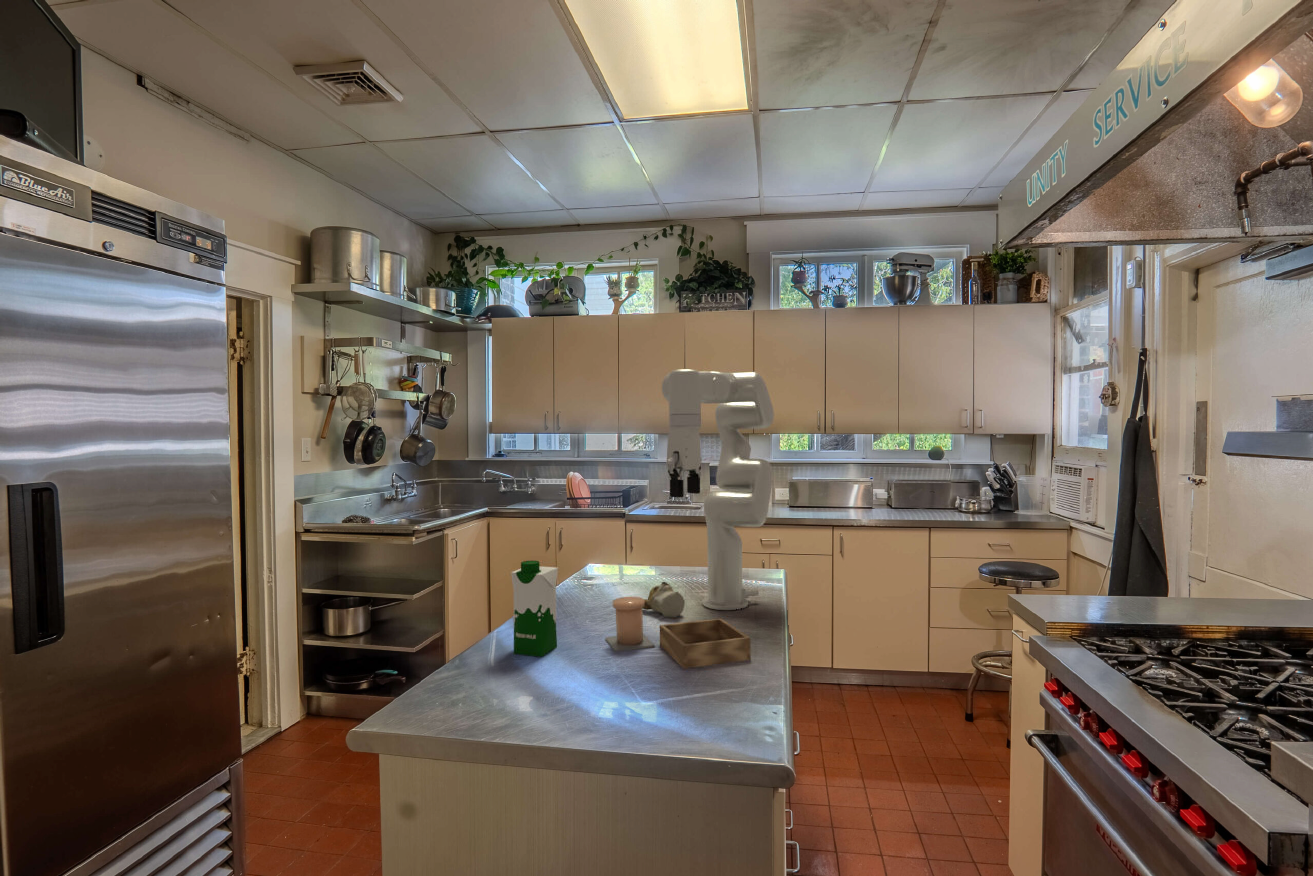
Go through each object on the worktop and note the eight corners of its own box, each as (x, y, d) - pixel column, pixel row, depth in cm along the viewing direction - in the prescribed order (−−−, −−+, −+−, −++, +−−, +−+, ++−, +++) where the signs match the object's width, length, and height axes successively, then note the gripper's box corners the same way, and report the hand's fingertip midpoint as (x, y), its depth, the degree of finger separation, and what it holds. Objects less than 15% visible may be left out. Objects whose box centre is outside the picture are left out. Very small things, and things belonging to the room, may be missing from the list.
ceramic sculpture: (659, 588, 164) (632, 580, 177) (660, 622, 164) (633, 612, 177) (694, 583, 169) (666, 576, 183) (695, 617, 169) (666, 607, 182)
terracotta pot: (641, 633, 152) (640, 595, 151) (649, 643, 145) (647, 603, 144) (611, 637, 150) (609, 598, 149) (617, 647, 143) (616, 607, 142)
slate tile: (642, 637, 153) (642, 633, 153) (654, 649, 144) (654, 645, 144) (605, 641, 150) (605, 637, 150) (615, 654, 141) (615, 649, 141)
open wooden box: (721, 640, 150) (721, 618, 150) (750, 661, 136) (750, 638, 136) (659, 647, 146) (659, 625, 146) (683, 670, 131) (683, 646, 131)
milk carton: (507, 654, 142) (506, 563, 141) (528, 642, 150) (528, 555, 150) (543, 659, 139) (542, 565, 138) (563, 645, 147) (562, 557, 147)
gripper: (685, 422, 162) (685, 491, 163) (654, 422, 147) (654, 498, 147) (713, 422, 159) (713, 492, 159) (684, 422, 144) (685, 499, 144)
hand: (685, 495), depth 153 cm, fingers open, 9 cm apart
